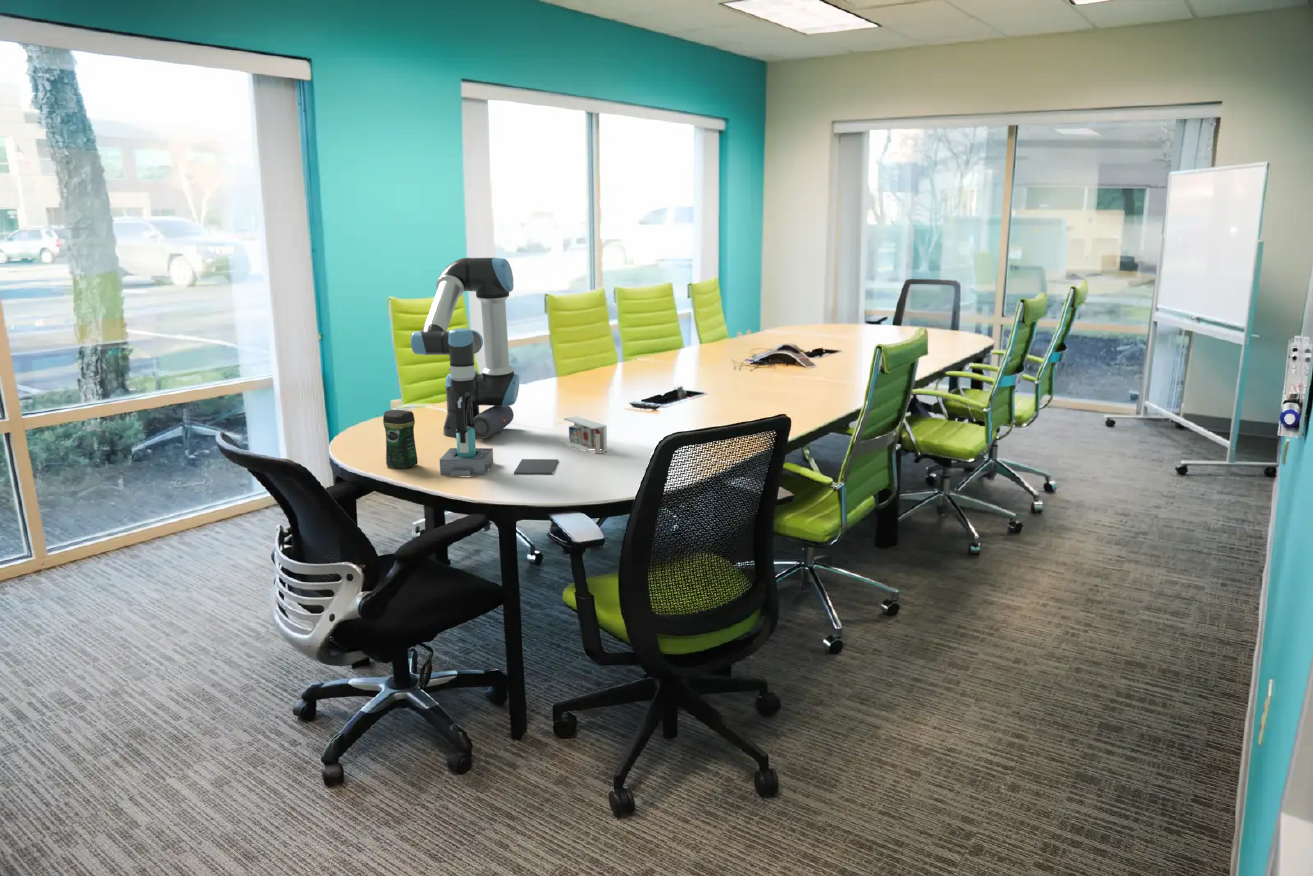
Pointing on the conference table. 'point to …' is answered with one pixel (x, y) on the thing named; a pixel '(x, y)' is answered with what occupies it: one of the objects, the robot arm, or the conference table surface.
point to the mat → (536, 466)
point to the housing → (466, 463)
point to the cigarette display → (587, 435)
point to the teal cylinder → (470, 443)
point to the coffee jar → (400, 439)
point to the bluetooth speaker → (492, 421)
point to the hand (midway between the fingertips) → (466, 449)
